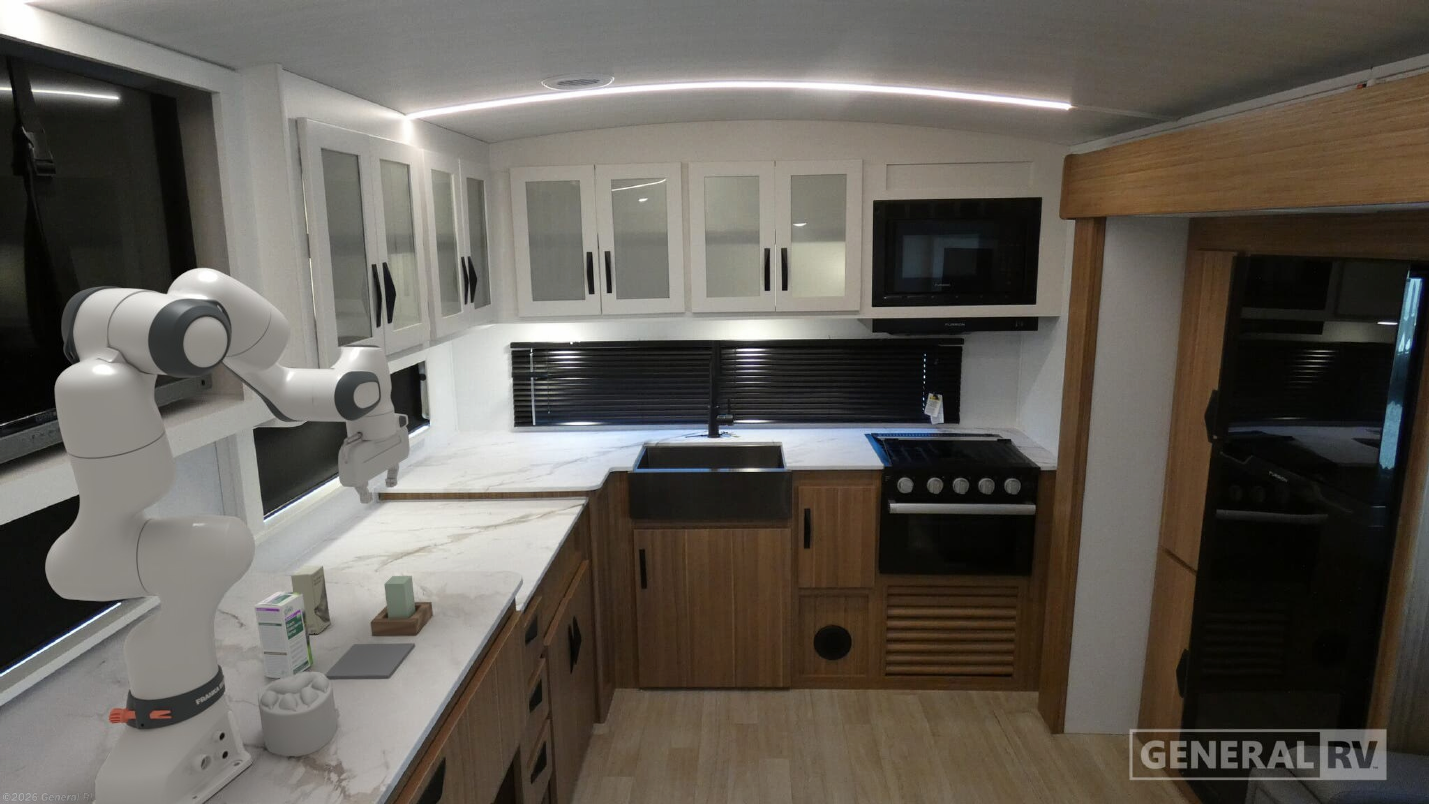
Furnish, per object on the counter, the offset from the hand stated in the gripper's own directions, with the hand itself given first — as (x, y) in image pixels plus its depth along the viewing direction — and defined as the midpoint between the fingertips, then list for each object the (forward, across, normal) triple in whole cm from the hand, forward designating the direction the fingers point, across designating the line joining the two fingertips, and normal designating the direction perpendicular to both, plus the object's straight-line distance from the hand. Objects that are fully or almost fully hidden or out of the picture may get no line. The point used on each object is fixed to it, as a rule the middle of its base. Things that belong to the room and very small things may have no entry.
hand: (379, 494), depth 163 cm
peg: (+29, +1, -1) cm, 29 cm away
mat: (+28, -14, -3) cm, 32 cm away
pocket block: (+29, +1, -1) cm, 29 cm away
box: (+29, -2, +16) cm, 33 cm away
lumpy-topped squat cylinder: (+28, -37, -4) cm, 47 cm away
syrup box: (+28, -19, +11) cm, 36 cm away
